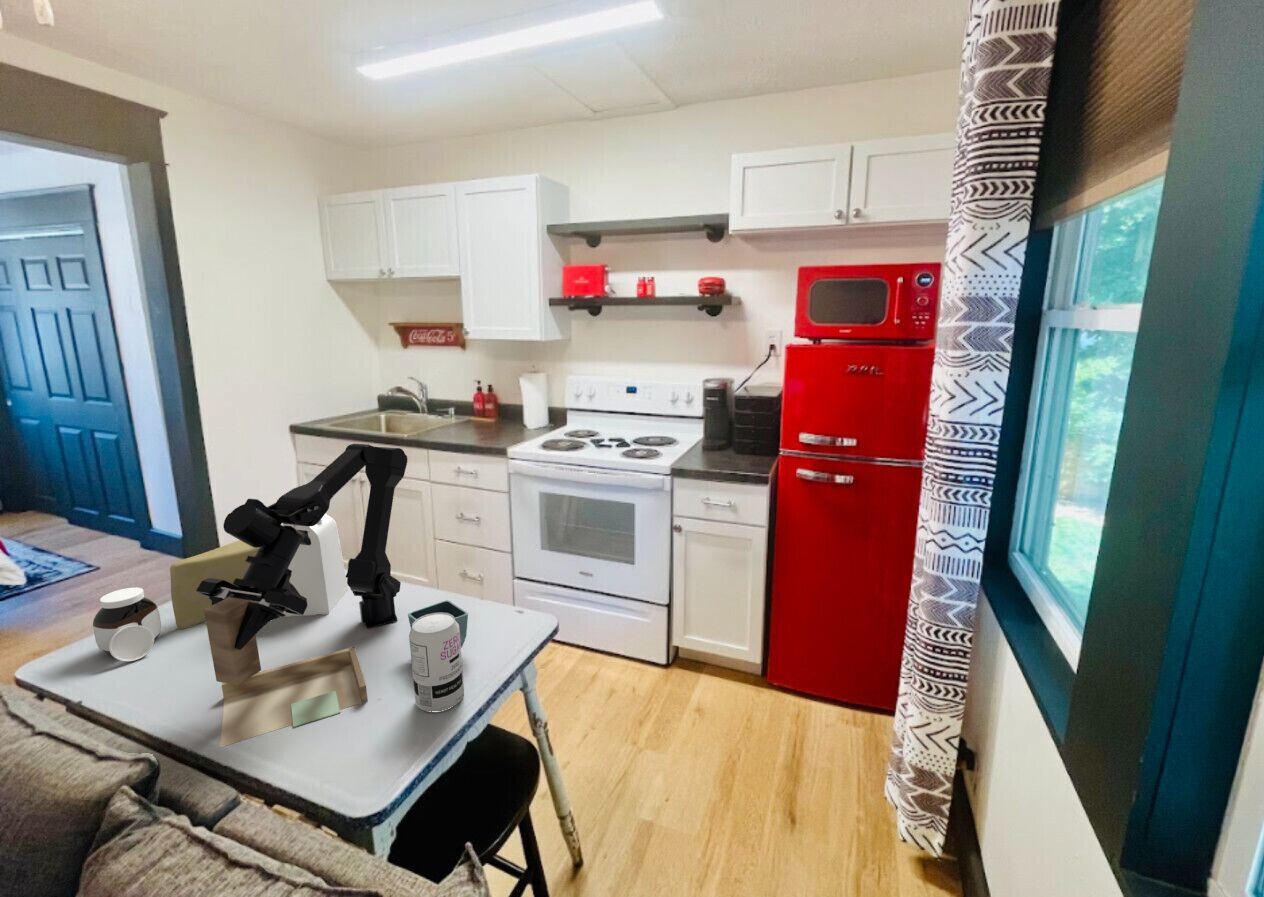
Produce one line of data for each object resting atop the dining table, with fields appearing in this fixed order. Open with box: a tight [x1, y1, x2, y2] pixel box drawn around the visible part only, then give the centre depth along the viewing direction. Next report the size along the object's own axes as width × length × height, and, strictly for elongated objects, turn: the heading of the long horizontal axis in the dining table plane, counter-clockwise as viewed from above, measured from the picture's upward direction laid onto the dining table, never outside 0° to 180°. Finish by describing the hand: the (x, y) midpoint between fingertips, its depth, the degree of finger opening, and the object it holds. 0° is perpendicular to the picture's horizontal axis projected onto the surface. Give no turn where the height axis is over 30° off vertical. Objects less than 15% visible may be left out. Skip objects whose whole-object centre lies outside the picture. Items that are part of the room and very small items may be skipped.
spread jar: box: [92, 587, 162, 662], centre depth 120 cm, size 12×11×12 cm
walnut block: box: [204, 597, 262, 686], centre depth 98 cm, size 4×4×13 cm
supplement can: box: [408, 613, 465, 713], centre depth 103 cm, size 8×8×15 cm
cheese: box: [169, 539, 259, 630], centre depth 137 cm, size 22×10×15 cm, turn 150°
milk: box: [281, 512, 349, 618], centre depth 138 cm, size 12×12×26 cm
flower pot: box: [407, 599, 469, 649], centre depth 118 cm, size 9×9×9 cm
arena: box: [219, 646, 369, 748], centre depth 104 cm, size 22×16×3 cm
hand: (225, 646), depth 97 cm, fingers closed on walnut block, 4 cm apart
